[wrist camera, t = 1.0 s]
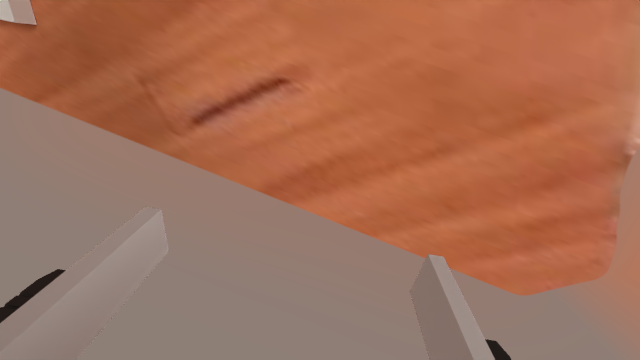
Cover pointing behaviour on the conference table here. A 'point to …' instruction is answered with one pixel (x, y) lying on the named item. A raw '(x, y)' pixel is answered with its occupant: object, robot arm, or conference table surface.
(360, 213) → the conference table surface
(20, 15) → the socket
